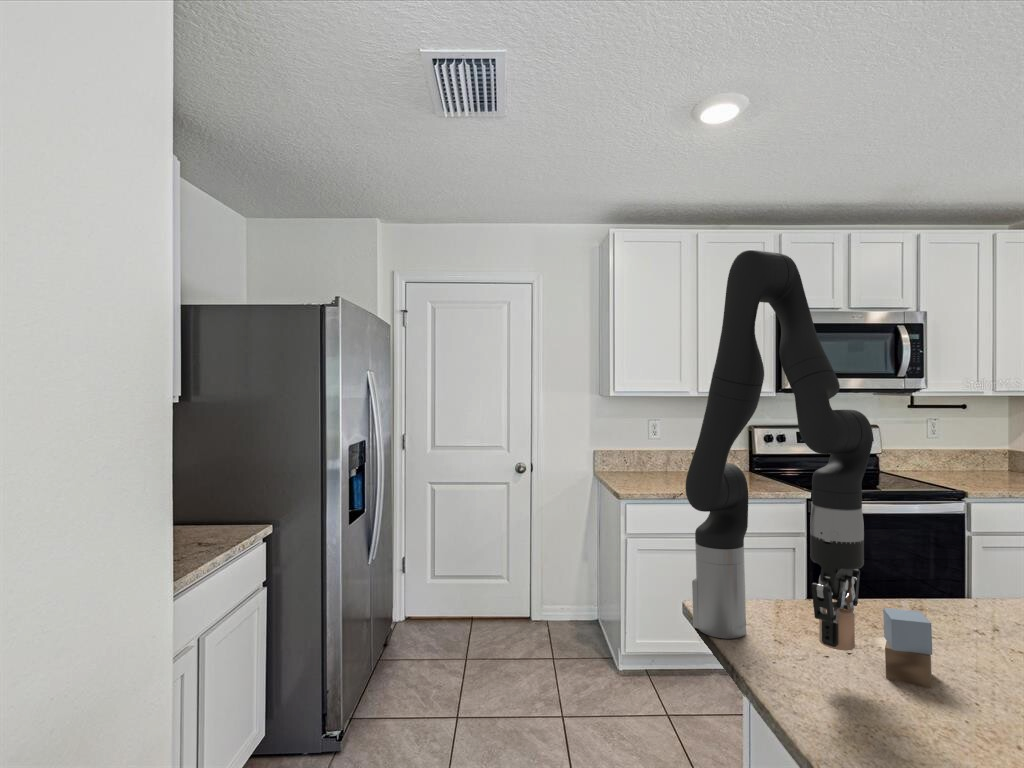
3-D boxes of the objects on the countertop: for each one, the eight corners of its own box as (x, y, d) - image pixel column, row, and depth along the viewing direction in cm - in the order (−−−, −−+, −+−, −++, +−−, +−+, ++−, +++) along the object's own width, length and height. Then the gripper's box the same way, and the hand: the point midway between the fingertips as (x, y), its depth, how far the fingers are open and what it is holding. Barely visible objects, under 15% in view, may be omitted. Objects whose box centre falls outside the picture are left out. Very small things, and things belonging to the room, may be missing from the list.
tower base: (886, 678, 96) (884, 647, 96) (888, 664, 100) (887, 635, 101) (931, 688, 92) (929, 656, 92) (931, 674, 97) (930, 643, 97)
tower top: (892, 650, 95) (891, 619, 95) (884, 637, 100) (883, 607, 100) (932, 654, 93) (931, 623, 93) (922, 641, 98) (921, 611, 98)
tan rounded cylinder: (814, 642, 94) (813, 611, 94) (826, 634, 97) (826, 603, 97) (847, 653, 90) (847, 620, 90) (859, 643, 93) (859, 612, 93)
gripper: (829, 522, 101) (829, 620, 101) (793, 537, 92) (793, 645, 92) (878, 530, 95) (878, 634, 95) (845, 547, 86) (845, 662, 86)
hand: (836, 639), depth 93 cm, fingers closed on tan rounded cylinder, 5 cm apart
